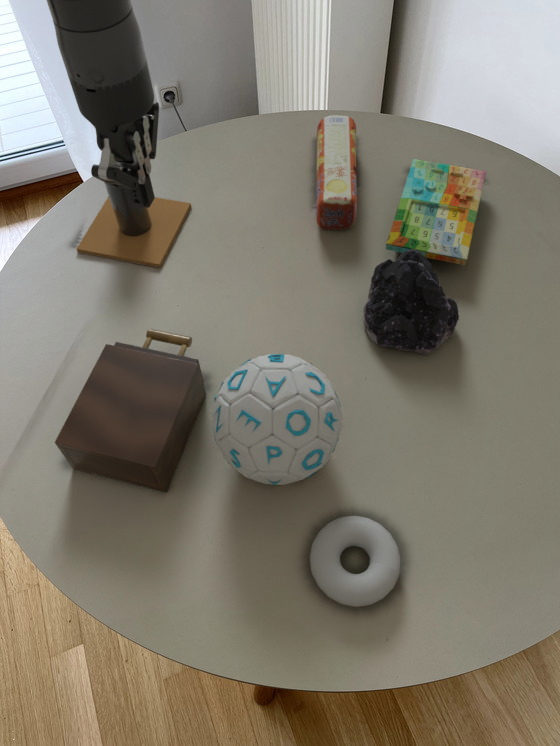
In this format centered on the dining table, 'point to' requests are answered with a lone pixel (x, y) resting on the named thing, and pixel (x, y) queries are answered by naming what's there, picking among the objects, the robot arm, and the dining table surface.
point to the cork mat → (136, 249)
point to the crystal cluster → (409, 305)
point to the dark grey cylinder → (128, 212)
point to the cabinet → (133, 417)
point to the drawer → (167, 338)
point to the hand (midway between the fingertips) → (144, 202)
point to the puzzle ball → (276, 419)
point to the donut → (343, 583)
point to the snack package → (336, 173)
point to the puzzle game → (437, 211)
